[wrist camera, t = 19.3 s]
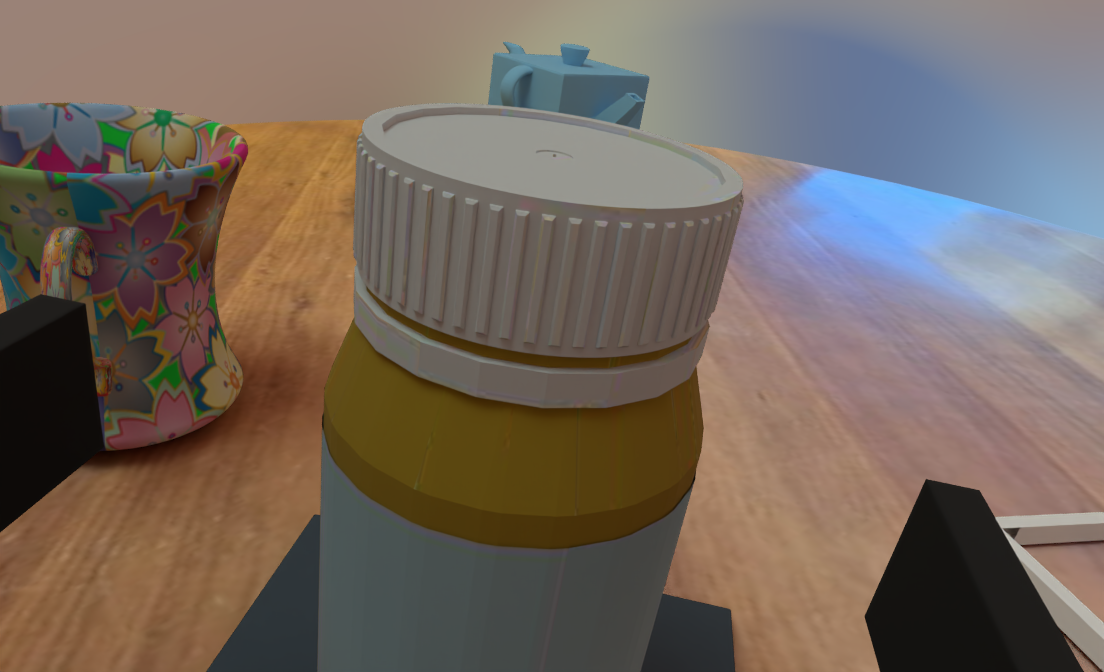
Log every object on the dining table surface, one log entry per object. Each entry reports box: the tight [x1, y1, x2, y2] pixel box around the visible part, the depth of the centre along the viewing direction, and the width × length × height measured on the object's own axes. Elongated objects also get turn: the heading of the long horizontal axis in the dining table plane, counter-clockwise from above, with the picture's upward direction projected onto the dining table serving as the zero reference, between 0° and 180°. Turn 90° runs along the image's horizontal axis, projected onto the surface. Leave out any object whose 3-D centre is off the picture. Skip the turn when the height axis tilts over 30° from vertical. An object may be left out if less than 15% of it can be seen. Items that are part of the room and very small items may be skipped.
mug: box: [0, 103, 248, 451], centre depth 27 cm, size 12×9×11 cm
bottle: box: [317, 103, 744, 672], centre depth 16 cm, size 7×7×15 cm
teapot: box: [488, 42, 649, 129], centre depth 71 cm, size 16×18×11 cm
